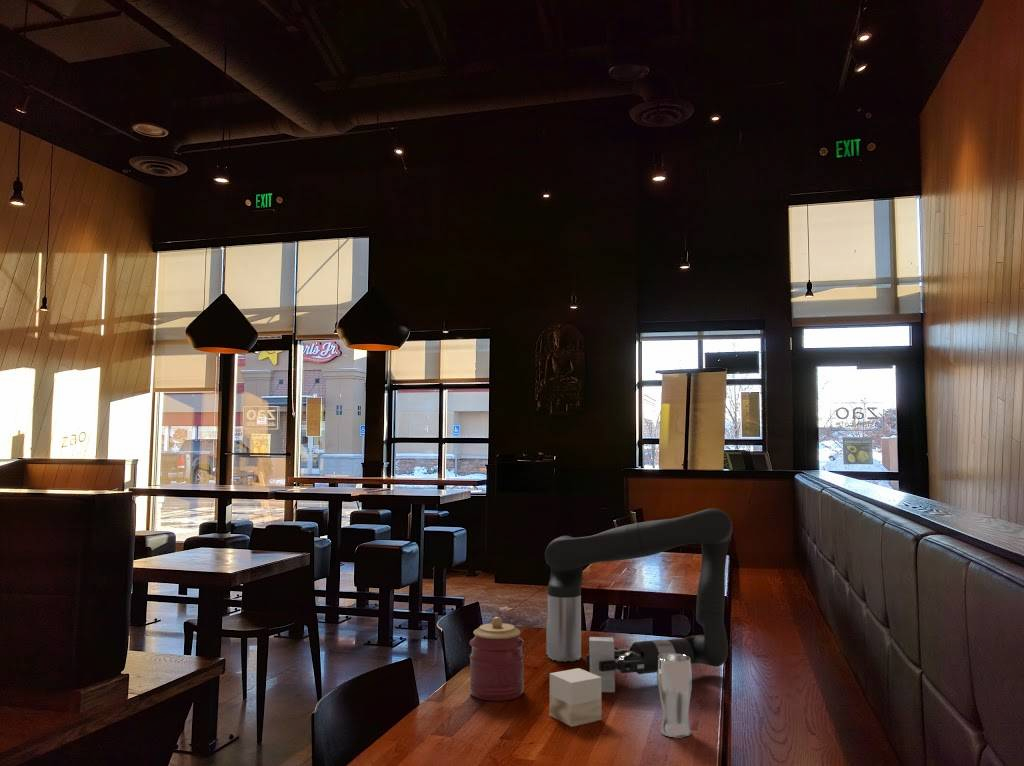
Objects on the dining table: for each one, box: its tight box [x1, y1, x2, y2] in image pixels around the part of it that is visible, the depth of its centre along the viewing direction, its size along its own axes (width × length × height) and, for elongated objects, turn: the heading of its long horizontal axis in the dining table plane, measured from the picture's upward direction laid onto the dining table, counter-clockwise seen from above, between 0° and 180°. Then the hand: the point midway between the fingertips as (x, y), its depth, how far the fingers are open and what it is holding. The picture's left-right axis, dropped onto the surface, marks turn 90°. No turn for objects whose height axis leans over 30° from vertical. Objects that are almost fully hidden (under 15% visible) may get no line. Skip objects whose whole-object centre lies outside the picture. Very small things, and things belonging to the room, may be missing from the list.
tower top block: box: [549, 667, 602, 705], centre depth 163 cm, size 8×8×4 cm
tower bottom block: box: [549, 694, 603, 727], centre depth 162 cm, size 8×8×4 cm
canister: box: [468, 616, 525, 702], centre depth 179 cm, size 13×13×18 cm
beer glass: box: [656, 653, 693, 739], centre depth 154 cm, size 7×7×15 cm
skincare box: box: [588, 636, 616, 693], centre depth 181 cm, size 6×4×12 cm
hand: (593, 662), depth 181 cm, fingers closed on skincare box, 6 cm apart
